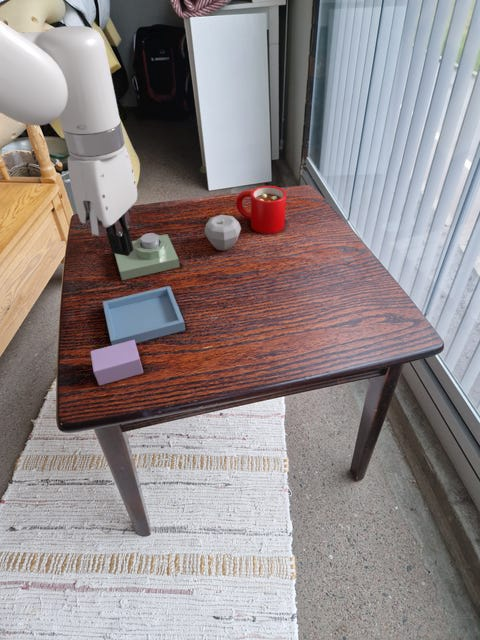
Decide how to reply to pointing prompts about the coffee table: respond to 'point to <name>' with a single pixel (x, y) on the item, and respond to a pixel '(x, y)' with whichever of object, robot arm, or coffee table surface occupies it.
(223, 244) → the apple
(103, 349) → the soap bar
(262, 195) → the mug
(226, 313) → the coffee table surface
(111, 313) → the soap dish
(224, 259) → the coffee table surface
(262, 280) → the coffee table surface
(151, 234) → the grey push button
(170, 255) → the green push button box
